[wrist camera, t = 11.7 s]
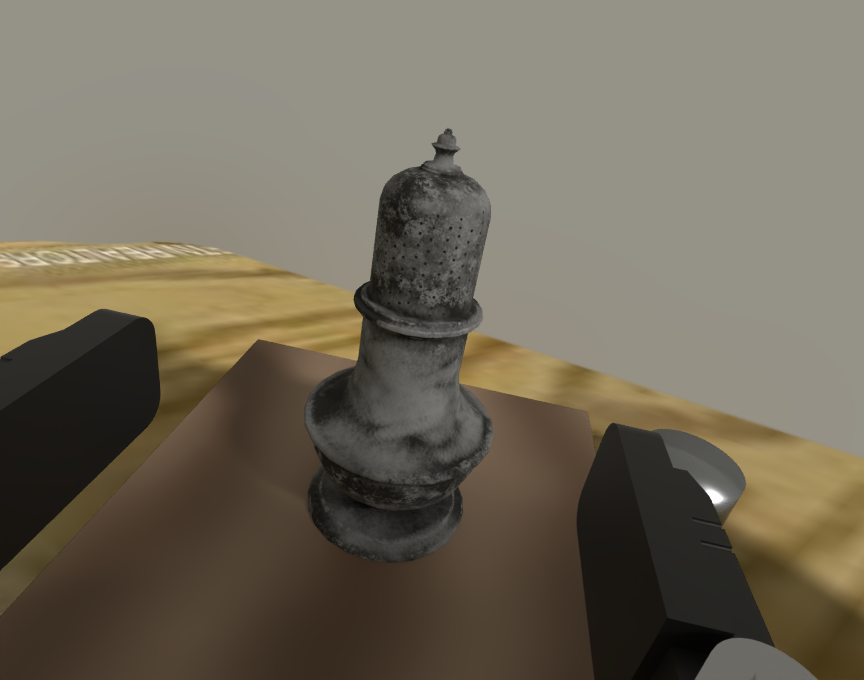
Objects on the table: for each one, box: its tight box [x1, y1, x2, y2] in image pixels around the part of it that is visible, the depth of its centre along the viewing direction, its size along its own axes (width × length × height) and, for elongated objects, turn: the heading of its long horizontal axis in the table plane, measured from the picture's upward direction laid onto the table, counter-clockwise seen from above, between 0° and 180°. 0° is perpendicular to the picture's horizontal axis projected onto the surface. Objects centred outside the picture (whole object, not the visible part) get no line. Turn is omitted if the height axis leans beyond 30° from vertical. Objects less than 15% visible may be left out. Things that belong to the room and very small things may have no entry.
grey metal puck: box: [652, 429, 746, 528], centre depth 28 cm, size 5×5×3 cm
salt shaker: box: [304, 129, 494, 563], centre depth 16 cm, size 6×6×12 cm
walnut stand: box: [0, 339, 596, 680], centre depth 20 cm, size 16×16×5 cm
